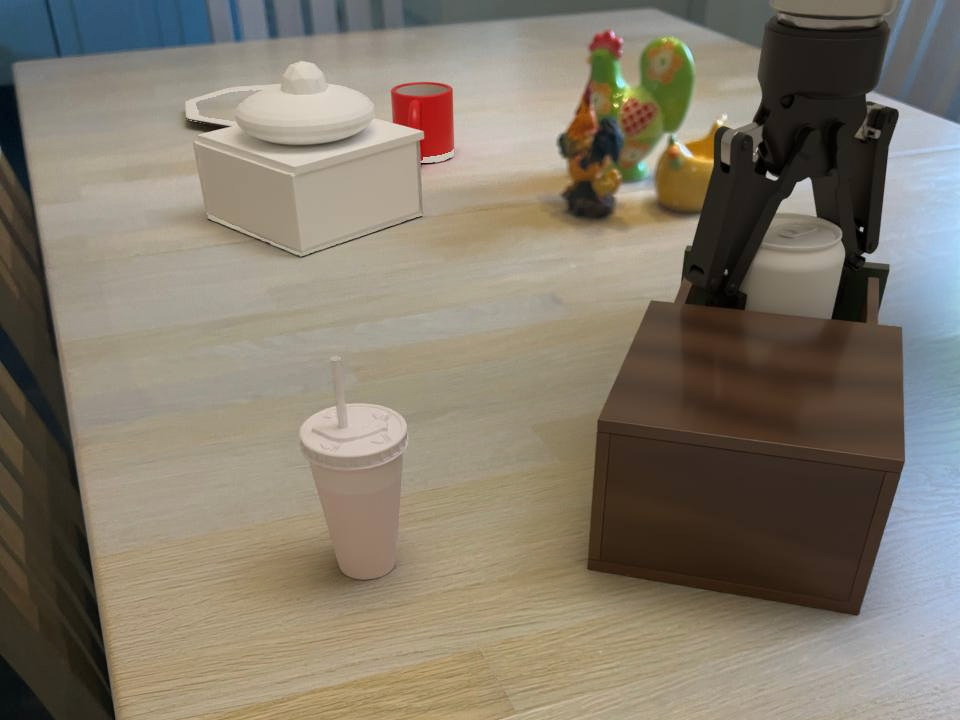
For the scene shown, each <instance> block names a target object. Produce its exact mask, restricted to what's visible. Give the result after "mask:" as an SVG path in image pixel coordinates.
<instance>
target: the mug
mask: <svg viewBox="0 0 960 720" xmlns="http://www.w3.org/2000/svg"><path fill="white" fill-rule="evenodd" d="M390 101H391V103H390V104H391V117H392V118H391V119H392V123H395V124H398V125H402V126H406V127H409V128H413V129H417V130H421V131H424V139H422V140H419V142H420V161H422V160H423V157H430V156H437V155H442V154H445V153H448V152H451V151H452V150H453V149H454V150H455V126H454V125H455V124H454V123H455V122H454V121H455V119H454V89H453V86H451V85H449V84H446V83H442V82H437V81H435V82H434V81H415V82H414V81H413V82H407V83H401V84H398V85H395V86H394V87H392V88H391V89H390Z"/></svg>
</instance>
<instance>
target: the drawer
mask: <svg viewBox="0 0 960 720" xmlns="http://www.w3.org/2000/svg"><path fill="white" fill-rule="evenodd" d="M691 247H692V245H686V246H685V249H684V253H683V259H682V260H683V261H682V269H681V278H680V285H679V289H678V291H677V293H676V296H675V299H674V301H673V303H682V304H691V305H701V306H705V302H706V295H707V291H705V290H703V289H701V288H700V287H698V286H696V285H694V284H692V283H691V282H689V281H687V280H686V279H685V276H684V275H685V270H686V266H687V262H688V258H689V255H690V251H691ZM890 268H891V267H890V264H889V263H882V262H871V261H865V264H864V266H863V267H862V268H861V269H860V270H858V271H854V270H852V269H850V271H849V275H848V280H847V284H846V286H845V287H846V289H845V291H844V297H843V301H842V303H841V305H840V307H837V311H836V315H835V319H834V320H842V321H851V322H861V323H870V324H879V313H880V309H881V306H882V301H883V299H884V295H885V294H884V293H885V290H886V286H887V283H888V278H889V274H890V271H891V270H890Z"/></svg>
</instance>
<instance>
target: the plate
mask: <svg viewBox="0 0 960 720" xmlns="http://www.w3.org/2000/svg"><path fill="white" fill-rule="evenodd" d="M279 85H281V83H273V84H257V85H256V84H255V85H242V86H241V85H240V86H231V87H226V88H222V89H219V90H216V91H213V92H210V93H207V94H203V95H200V96H197V97H193V98H190V99H187V100H186V101H185V102H184V110H185V118H186V120H187V119H188V120H187V121H189V120H192V121H197V122H201V123H200V124H202V123H205V124H204V125H208V124H210V125H209V126H214V125H215V126H216V127H220V128H228V127H232V126H236V125H238V124H237V122H235V121H229V120H222V119H215V118H208V117H204V116H201V115H199V110H198V109H197V106H196V102H198V101H200V100H204V99H208V98H212V97H216V96H217V95H218V96H219V95H221V94H225V93H229V92H234V91H235V92H238V91H249V90H253V91H256V90H264V89H268V88H271V87H275V86H279ZM197 122H196V123H197ZM215 126H214V127H215Z"/></svg>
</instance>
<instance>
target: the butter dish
mask: <svg viewBox="0 0 960 720" xmlns="http://www.w3.org/2000/svg"><path fill="white" fill-rule="evenodd" d="M280 84H281V85H279V86H275V87H271V88H268V89H264V90H262V91H259V92H257V93H255V94H253V95H251V96H249V97H248V98H246V99H245V100H244V101H243V102H242V103H240V104H239V106H238V107H237V109H236V112H235V120H236V122H237V124H238V125H236V126H232V127H228V128H226V127H222V128H219V129H215V130H212V131H207V132H204V133H199V134H197V140H195V141H192V146H193V151H194V156H195V161H196V167H197V171H198V173H197V174H198V178H199V183H200V184H199V185H200V189H201V194H202V199H203V206H204V211H205V213H206V214H207V213H208V214H210V215H213V216H215V217H217V218H219V219H221V220H224V221H226V222H228V223H230V224H232V225H235V226H238V227H240V228H242V229H244V230H246V231H248V232H250V233H253V234H255V235H257V236H259V237H261V238H264V239H267V240H269V241H272V242H274V243H276V244H279V245H281V246H284V247H286V248H289V249H291V250H294V251H297V252H300V253H303V252H306V251H309V250H312V249H315V248H318V247H320V246H324V245H327V244H329V243H333V242H336V241H340V240H342V239H346V238H348V237H352V236H355V235H357V234H361V233H363V232H367V231H370V230H374V229H376V228H378V227H382V226H385V225H387V224H390V223H393V222H396V221H398V220H402V219H405V218H407V217H411V216H413V215H416V214H419V213H422V212H423V213H424V207H423V206H424V205H423V185H422V164H421V162H420V142H419V140H422V139H424V131H421V130H417V129H413V128H409V127H406V126H402V125H398V124H395V123H393V122H390V121H386V120H383V119H380V118H375V116H376V106H375V105H374V103H373V102H372V100H370V98H369V97H367V95H365V94H363V93H361V92H360V91H358V90H356V89H354V88H350V87H347V86H344V85H339V84H336V83H335V84H334V83H328V82H327V79H326V76H325V74H324V72H323V71H321V69H320V68H319V67H318V66H317V65H316V64H315V63H312V62H309V61H304V60H300V61H297V62H294V63H290V64H289V65H288V67H287V68H286V70H285V71H284V73H283V74H282V78H281V83H280Z"/></svg>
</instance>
